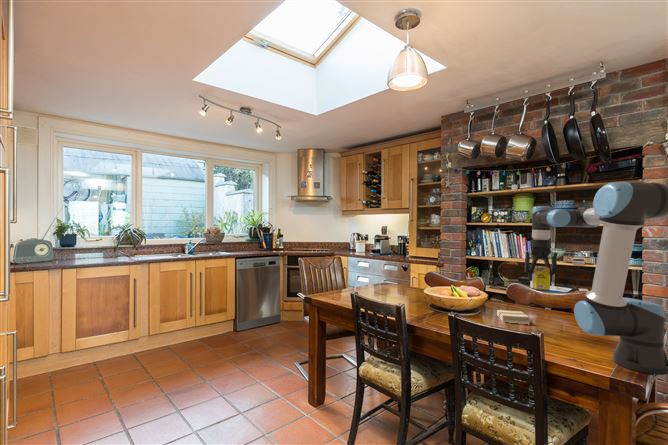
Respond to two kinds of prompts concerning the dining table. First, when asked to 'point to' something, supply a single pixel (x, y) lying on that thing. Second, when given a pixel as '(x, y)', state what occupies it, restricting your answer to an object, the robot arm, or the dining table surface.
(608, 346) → the dining table surface
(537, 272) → the supplement box
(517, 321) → the maple block
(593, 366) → the dining table surface
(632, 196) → the robot arm
